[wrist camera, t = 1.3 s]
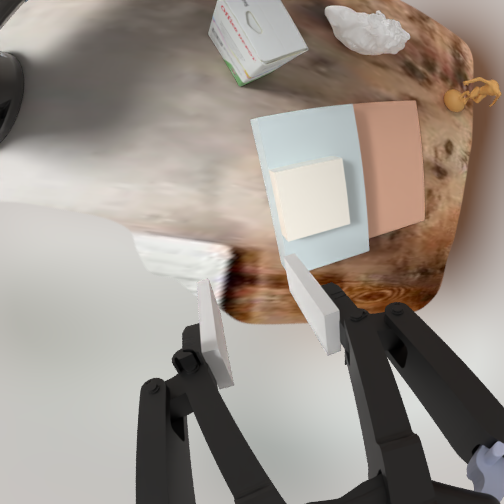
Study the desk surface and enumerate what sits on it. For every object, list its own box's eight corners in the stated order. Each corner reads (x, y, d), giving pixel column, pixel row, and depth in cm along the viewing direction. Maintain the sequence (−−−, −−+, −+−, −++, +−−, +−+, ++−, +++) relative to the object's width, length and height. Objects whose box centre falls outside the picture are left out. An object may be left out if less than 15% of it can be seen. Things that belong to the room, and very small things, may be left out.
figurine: (429, 101, 35) (486, 103, 24) (433, 70, 33) (487, 66, 22) (458, 119, 37) (510, 127, 26) (462, 90, 35) (512, 93, 24)
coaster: (268, 169, 32) (274, 172, 29) (332, 155, 32) (342, 157, 30) (281, 234, 35) (288, 241, 33) (340, 217, 36) (350, 223, 33)
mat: (337, 105, 34) (339, 105, 33) (413, 100, 35) (415, 100, 34) (355, 240, 42) (357, 241, 42) (422, 219, 43) (424, 220, 43)
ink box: (206, 33, 27) (213, -7, 17) (244, 18, 27) (266, -24, 16) (239, 88, 31) (260, 68, 20) (276, 72, 31) (312, 49, 20)
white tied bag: (307, 27, 30) (326, 52, 25) (327, -15, 24) (354, -2, 18) (378, 57, 33) (409, 91, 28) (399, 21, 27) (439, 48, 21)
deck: (250, 119, 33) (256, 117, 29) (337, 105, 34) (352, 103, 30) (281, 263, 41) (289, 276, 38) (355, 240, 42) (369, 250, 39)
